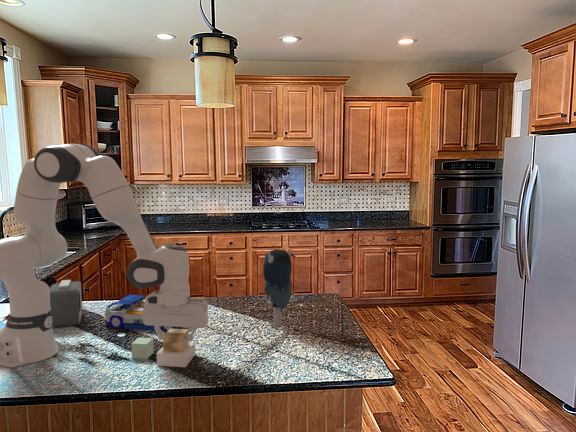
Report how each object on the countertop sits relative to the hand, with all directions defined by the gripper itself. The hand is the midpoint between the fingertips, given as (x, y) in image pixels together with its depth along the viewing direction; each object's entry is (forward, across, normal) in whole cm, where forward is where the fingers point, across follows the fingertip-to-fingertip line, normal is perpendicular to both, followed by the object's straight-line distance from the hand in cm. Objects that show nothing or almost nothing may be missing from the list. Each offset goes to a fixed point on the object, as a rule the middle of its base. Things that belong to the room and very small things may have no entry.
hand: (175, 339), depth 134 cm
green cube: (+7, +12, -2) cm, 14 cm away
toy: (+7, -28, -33) cm, 44 cm away
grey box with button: (+7, +56, -28) cm, 63 cm away
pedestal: (+7, 0, 0) cm, 7 cm away
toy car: (+7, +22, -30) cm, 39 cm away
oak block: (+3, 0, 0) cm, 3 cm away
